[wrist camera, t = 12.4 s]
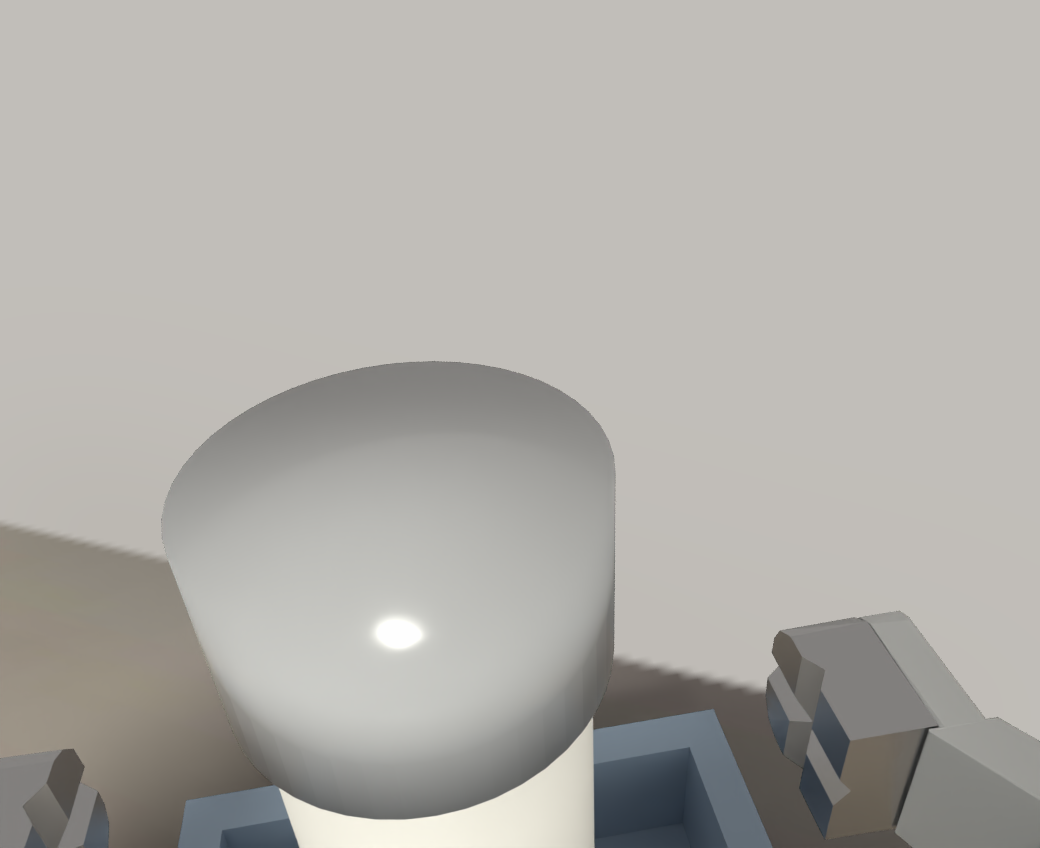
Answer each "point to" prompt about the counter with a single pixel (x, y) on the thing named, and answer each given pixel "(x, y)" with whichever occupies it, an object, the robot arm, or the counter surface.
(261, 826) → the parts tray
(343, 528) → the fuse
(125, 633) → the counter surface
